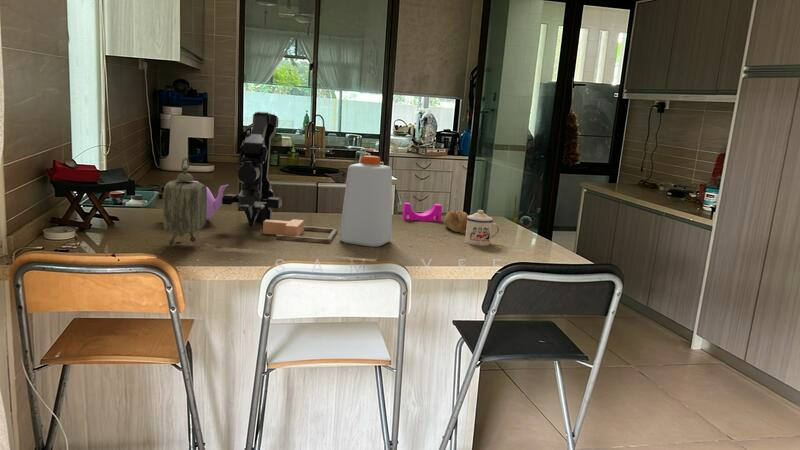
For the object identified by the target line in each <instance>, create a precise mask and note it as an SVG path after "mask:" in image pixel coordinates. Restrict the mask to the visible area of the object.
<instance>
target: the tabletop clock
mask: <svg viewBox="0 0 800 450" xmlns="http://www.w3.org/2000/svg"><path fill="white" fill-rule="evenodd" d="M185 161H186V163H187V165H186V166H184V164H185ZM189 168H190V159H189V158H188V157H184V158H183V159H182V160H181V171H182V173H179V174H177V176H176V178H175V180H170V181H169V182H167V183H166V184H165V185H164V187H163V202H162V214H163V215H162V216H163V217H162V219H163V220H162V221H163V222H162V223H163V230H164V231H165V232H174V233H173V236H172V238H170V239H168V244H169V246H172V245H174V244H175V239H176V237H179V238H183V237H184V236H185V233H189V235H190V238H189V241H190V242H191V243H194V242H196V237H195V236H194V235H193V234H194V232H197V231H199V230H200V229H203V227H204V226H205V225H206V224H207V220H206V213H207V188H206V187H207V186H206V185H205V184H203V183H202V182H199V181H198V182H191V181H195V178H194V176H193V175H192V174H191V173H188V171H189Z"/></svg>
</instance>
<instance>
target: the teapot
mask: <svg viewBox="0 0 800 450" xmlns="http://www.w3.org/2000/svg"><path fill="white" fill-rule="evenodd" d="M191 182H199V181H198V180H194V181H191ZM228 186H229V184H223V185H220V187H219V188H218V192H217V197H216V198H215V197H214V195H213V194H212V191H211V190H210V188H209V187H208V186H206V188H207V213H206V221H207V220H210V218H212V217H213V216H214V215H215V213H216V212H217V210H218V209H219V208H220V207H221V206H222V205H223V204H222V197H223V196H224V191H225V189H226V188H227V187H228Z"/></svg>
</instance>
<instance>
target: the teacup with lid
mask: <svg viewBox="0 0 800 450" xmlns="http://www.w3.org/2000/svg"><path fill="white" fill-rule="evenodd" d="M493 226H494V227H495V226H496V227H497V231H496V232H495V234H492V229H493ZM500 231H501V227H500V225H499V224H498V223H495V222H494V219H493V217H492V216H489V215H488V214H486V213H484V210H483V209H478V210H477V212H475V213H473V214H468V216H467V226H466V233H465V237H464V243H465V244H468V245H472V246H479V247H480V246H482V247H483V246H485V247H486V246H490V244H491V239H492V238H493V239H494V238H496V237H498V236H499V234H500Z"/></svg>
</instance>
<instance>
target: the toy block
mask: <svg viewBox="0 0 800 450" xmlns="http://www.w3.org/2000/svg"><path fill="white" fill-rule="evenodd" d="M442 213H443V205H442V204H440V203H433V205H432V207H431V209H428V210H426V211H425V212H421V213H419V212H415V211H413V210H412V207H411V203H410V202H403V207H402V220H403V219H404V220H403V221H413V220H419V222H441V221H442ZM407 216H408V217H407ZM435 216H436V217H435ZM434 219H436V220H434Z"/></svg>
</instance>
